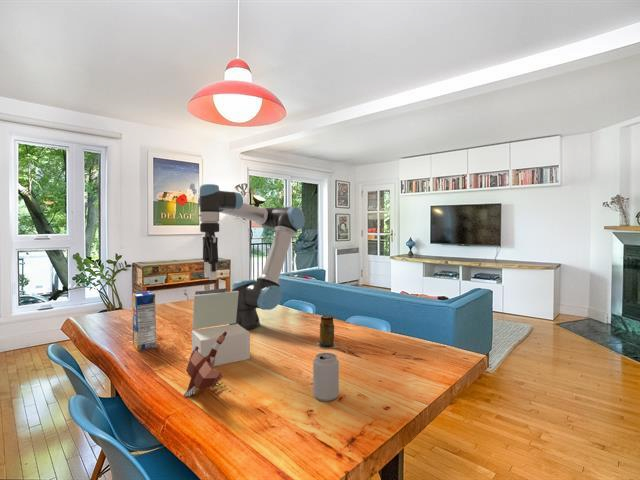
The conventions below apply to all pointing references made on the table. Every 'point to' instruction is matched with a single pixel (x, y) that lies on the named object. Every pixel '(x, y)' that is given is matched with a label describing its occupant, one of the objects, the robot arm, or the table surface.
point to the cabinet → (230, 349)
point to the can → (326, 376)
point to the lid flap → (214, 308)
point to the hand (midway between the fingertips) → (210, 278)
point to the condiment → (327, 333)
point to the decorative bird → (204, 369)
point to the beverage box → (144, 320)
